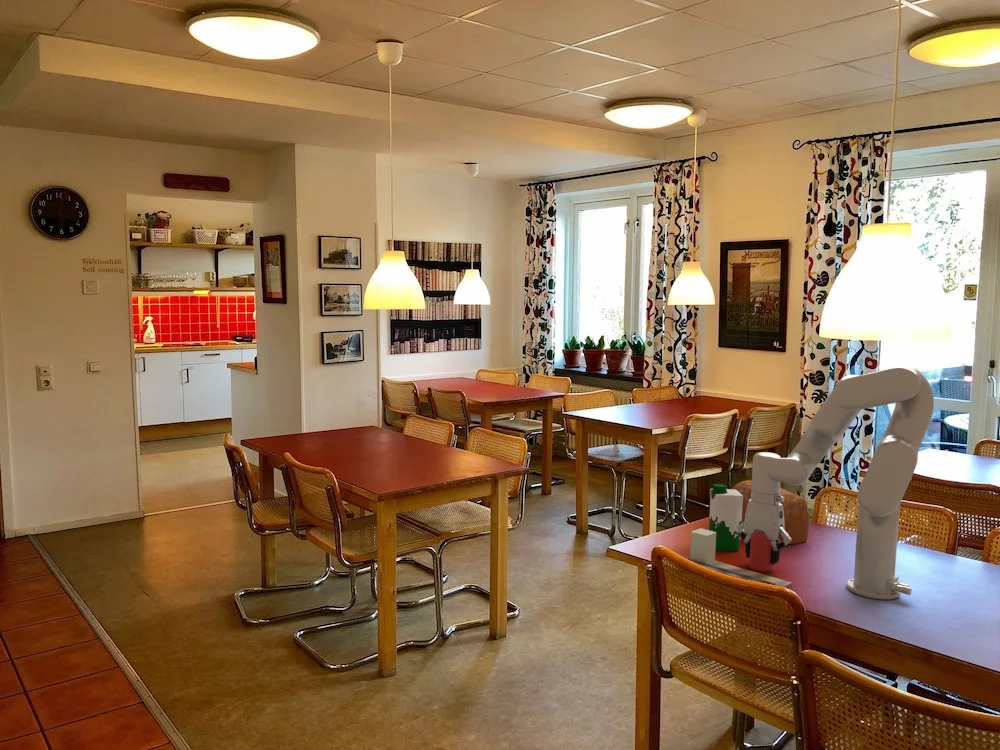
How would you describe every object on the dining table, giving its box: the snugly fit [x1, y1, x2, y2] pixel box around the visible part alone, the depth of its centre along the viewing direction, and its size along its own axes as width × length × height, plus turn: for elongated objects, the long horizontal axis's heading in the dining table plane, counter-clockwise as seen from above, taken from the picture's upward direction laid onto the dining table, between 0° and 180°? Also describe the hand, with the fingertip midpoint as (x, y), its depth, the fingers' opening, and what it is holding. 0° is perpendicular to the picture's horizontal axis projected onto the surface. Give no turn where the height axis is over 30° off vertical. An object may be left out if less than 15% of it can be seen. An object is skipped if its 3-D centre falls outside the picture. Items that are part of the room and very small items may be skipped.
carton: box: [689, 527, 716, 565], centre depth 215 cm, size 5×5×9 cm
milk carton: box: [708, 483, 743, 552], centre depth 229 cm, size 9×9×20 cm
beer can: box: [748, 530, 775, 573], centre depth 213 cm, size 7×7×12 cm
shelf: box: [683, 556, 793, 589], centre depth 208 cm, size 28×10×3 cm, turn 44°
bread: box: [731, 479, 809, 545], centre depth 249 cm, size 14×26×16 cm, turn 22°
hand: (761, 559), depth 213 cm, fingers closed on beer can, 6 cm apart
